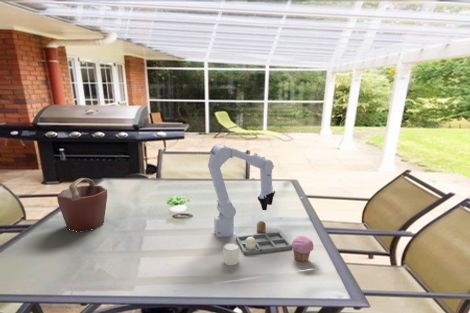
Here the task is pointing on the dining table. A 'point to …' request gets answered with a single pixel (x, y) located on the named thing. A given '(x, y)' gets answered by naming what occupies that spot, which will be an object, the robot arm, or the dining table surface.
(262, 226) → the brown egg
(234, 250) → the white textured cylinder
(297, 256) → the cupcake
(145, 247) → the dining table surface
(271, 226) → the dining table surface
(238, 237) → the egg tray
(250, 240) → the cream egg
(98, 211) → the bucket
